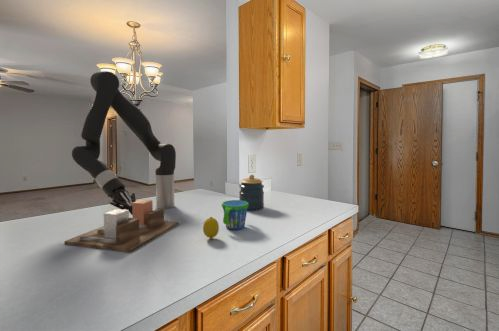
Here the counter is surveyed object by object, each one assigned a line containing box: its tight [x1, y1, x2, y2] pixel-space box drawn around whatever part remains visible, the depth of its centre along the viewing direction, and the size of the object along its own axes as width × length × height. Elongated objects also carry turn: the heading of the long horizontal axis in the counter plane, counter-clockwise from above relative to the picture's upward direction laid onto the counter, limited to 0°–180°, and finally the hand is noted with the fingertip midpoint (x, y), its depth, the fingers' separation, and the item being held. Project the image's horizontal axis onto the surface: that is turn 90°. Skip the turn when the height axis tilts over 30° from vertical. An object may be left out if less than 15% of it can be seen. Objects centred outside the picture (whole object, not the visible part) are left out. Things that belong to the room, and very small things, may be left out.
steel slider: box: [103, 208, 130, 239], centre depth 94 cm, size 5×6×9 cm
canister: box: [238, 174, 265, 212], centre depth 141 cm, size 13×13×18 cm
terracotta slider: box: [132, 199, 154, 225], centre depth 109 cm, size 5×6×9 cm
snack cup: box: [221, 199, 249, 231], centre depth 109 cm, size 16×10×10 cm
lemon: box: [202, 216, 220, 240], centre depth 97 cm, size 6×6×8 cm
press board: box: [64, 208, 180, 253], centre depth 102 cm, size 26×30×7 cm
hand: (136, 214), depth 110 cm, fingers closed
